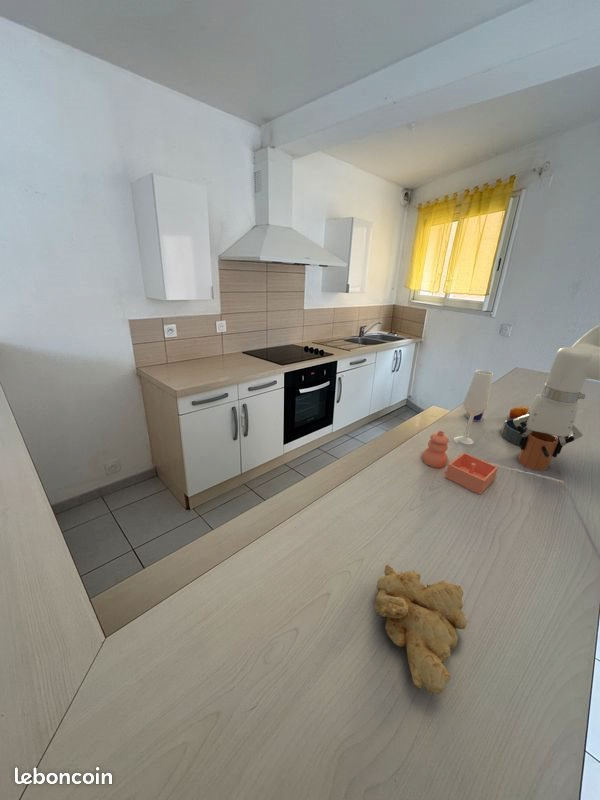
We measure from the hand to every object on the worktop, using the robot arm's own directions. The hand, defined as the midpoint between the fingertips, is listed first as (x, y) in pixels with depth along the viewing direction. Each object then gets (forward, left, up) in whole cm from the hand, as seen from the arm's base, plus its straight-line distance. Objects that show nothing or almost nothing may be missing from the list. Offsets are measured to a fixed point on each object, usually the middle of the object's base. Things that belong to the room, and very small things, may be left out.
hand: (537, 450), depth 93 cm
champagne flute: (+18, -5, -5) cm, 19 cm away
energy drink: (+15, -25, -5) cm, 30 cm away
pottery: (+21, +15, -5) cm, 26 cm away
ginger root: (+26, +64, -5) cm, 69 cm away
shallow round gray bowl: (0, -16, -5) cm, 17 cm away
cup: (0, +2, -4) cm, 5 cm away
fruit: (-1, -31, -5) cm, 31 cm away
